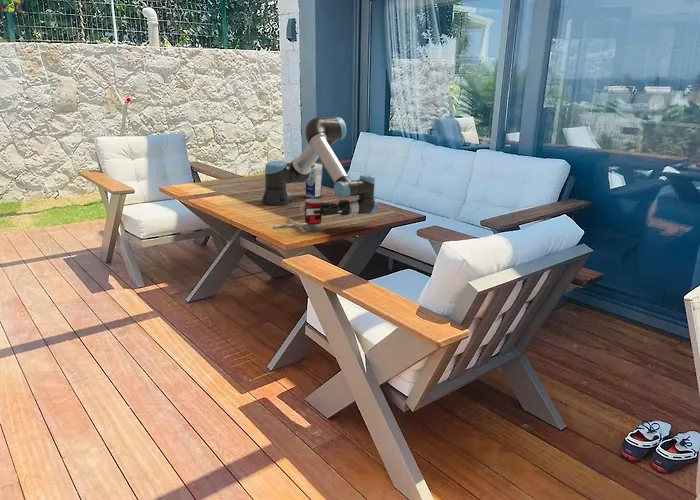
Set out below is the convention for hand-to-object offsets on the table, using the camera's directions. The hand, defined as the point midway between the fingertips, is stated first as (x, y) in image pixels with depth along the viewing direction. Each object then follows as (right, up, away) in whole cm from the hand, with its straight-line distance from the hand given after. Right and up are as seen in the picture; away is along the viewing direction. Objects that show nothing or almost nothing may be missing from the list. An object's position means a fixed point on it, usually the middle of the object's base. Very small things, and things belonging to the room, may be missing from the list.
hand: (303, 210), depth 257 cm
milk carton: (0, +13, +72) cm, 73 cm away
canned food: (+4, -6, +4) cm, 8 cm away
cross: (-5, -7, +8) cm, 12 cm away
